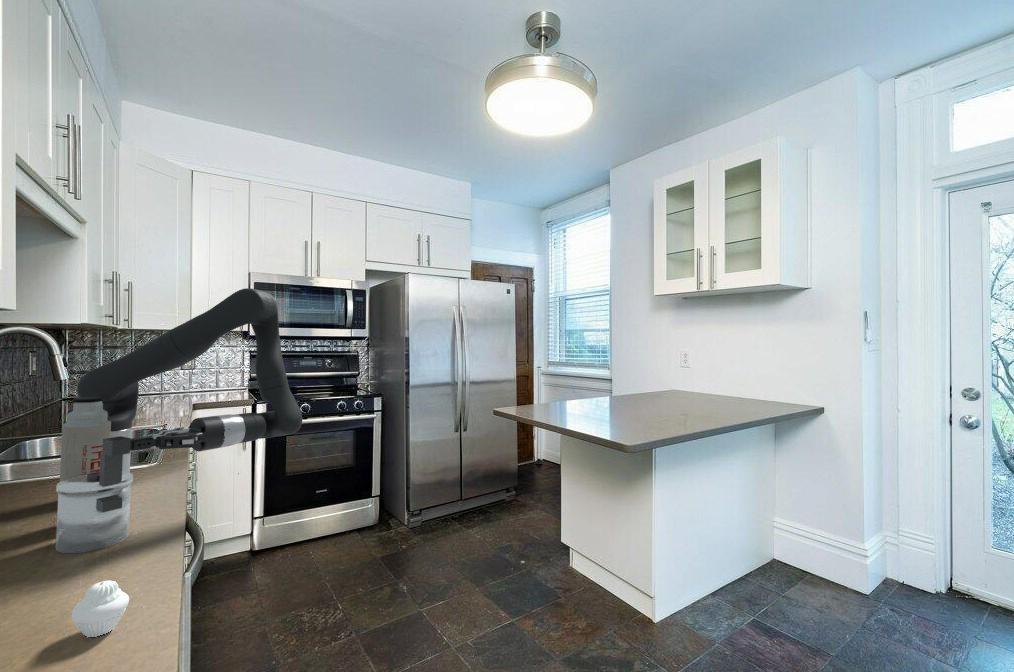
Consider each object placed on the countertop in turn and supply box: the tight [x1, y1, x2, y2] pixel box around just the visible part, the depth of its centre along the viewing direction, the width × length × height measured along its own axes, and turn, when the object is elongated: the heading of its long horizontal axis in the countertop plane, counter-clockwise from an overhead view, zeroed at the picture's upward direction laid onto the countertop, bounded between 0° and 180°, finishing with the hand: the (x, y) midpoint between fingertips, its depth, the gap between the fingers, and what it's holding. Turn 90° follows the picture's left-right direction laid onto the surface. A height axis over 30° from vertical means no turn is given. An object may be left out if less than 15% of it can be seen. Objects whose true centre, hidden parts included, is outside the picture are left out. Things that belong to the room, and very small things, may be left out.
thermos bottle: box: [59, 397, 111, 482], centre depth 101 cm, size 8×8×28 cm
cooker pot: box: [55, 483, 132, 554], centre depth 92 cm, size 14×11×11 cm
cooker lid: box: [55, 436, 134, 495], centre depth 93 cm, size 14×12×10 cm
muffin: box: [71, 580, 130, 638], centre depth 65 cm, size 6×6×7 cm
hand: (127, 445), depth 92 cm, fingers closed
